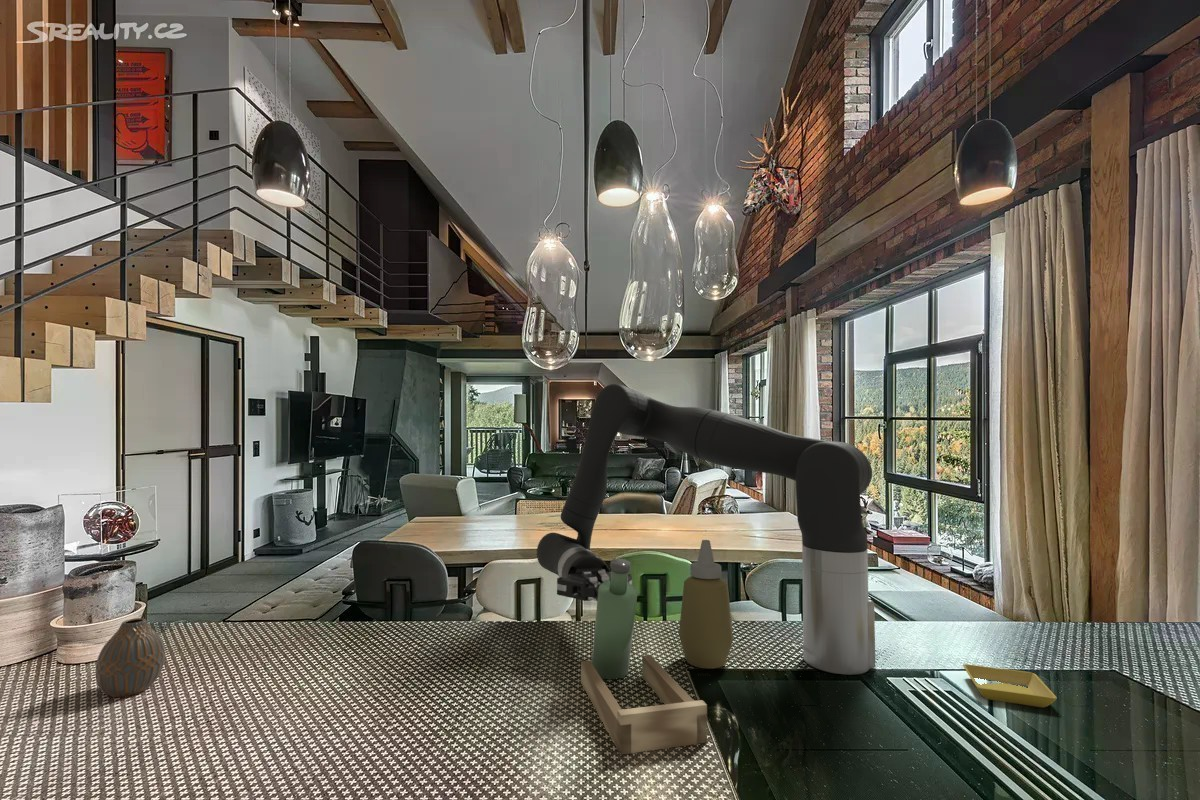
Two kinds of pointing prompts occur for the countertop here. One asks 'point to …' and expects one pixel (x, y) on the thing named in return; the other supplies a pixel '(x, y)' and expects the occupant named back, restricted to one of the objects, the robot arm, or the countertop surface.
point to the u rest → (648, 712)
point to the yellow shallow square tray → (1011, 686)
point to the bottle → (614, 622)
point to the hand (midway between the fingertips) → (610, 599)
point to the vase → (130, 659)
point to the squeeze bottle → (705, 613)
